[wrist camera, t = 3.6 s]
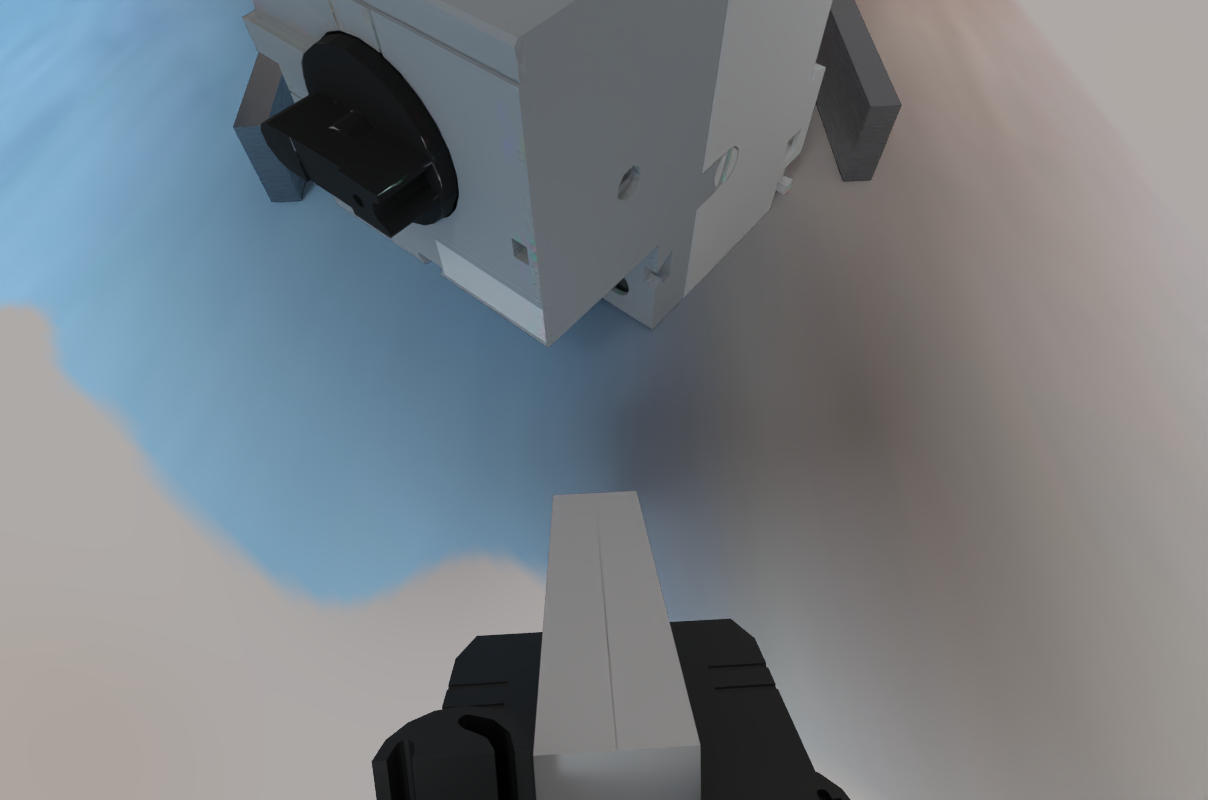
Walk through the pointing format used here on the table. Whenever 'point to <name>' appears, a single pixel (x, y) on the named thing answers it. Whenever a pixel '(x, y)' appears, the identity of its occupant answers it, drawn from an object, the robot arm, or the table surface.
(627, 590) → the robot arm
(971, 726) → the table surface
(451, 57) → the circuit breaker
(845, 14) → the lockout stall
